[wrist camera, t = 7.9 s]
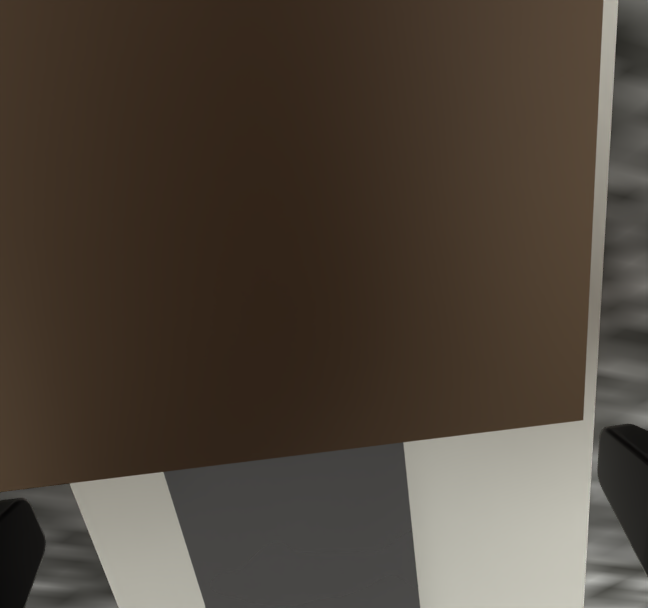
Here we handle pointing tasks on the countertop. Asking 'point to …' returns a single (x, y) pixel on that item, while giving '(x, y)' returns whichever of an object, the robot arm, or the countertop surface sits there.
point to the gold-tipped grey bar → (301, 530)
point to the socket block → (288, 227)
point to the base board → (423, 487)
